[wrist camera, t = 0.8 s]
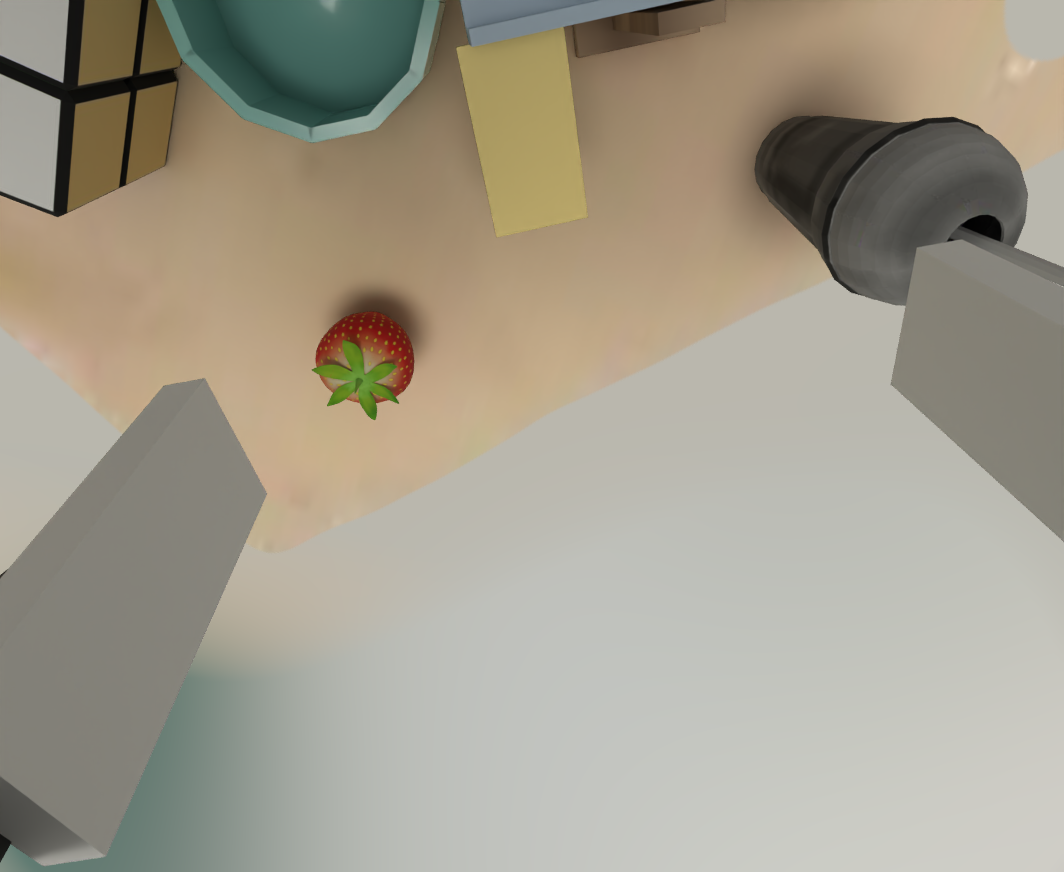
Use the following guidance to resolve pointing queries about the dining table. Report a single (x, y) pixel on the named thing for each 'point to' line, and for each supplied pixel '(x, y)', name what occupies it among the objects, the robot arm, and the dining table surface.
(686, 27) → the stand
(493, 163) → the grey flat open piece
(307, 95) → the bowl
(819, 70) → the dining table surface
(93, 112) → the puzzle cube
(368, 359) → the fruit
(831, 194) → the beverage cup
